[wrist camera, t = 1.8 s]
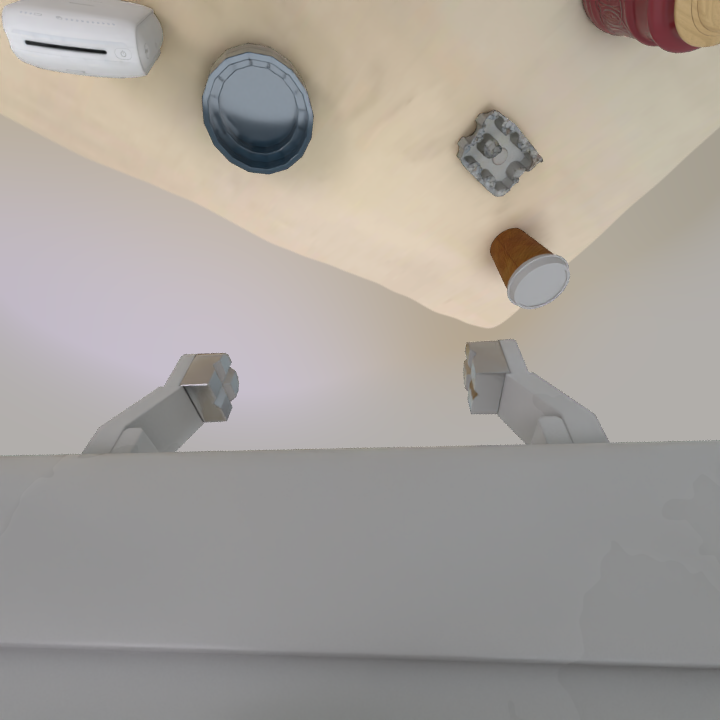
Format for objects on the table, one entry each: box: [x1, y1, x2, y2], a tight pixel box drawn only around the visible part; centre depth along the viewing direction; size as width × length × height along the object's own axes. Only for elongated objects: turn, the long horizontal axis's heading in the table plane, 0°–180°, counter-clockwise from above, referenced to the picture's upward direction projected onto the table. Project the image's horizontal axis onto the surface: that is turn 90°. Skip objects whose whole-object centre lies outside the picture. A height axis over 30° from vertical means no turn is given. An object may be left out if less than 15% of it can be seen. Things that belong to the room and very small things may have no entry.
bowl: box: [202, 43, 314, 174], centre depth 45 cm, size 12×12×5 cm
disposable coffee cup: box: [490, 228, 570, 309], centre depth 64 cm, size 10×10×12 cm
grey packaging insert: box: [457, 110, 543, 197], centre depth 54 cm, size 11×8×4 cm
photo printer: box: [2, 0, 163, 78], centre depth 35 cm, size 10×4×12 cm, turn 82°
